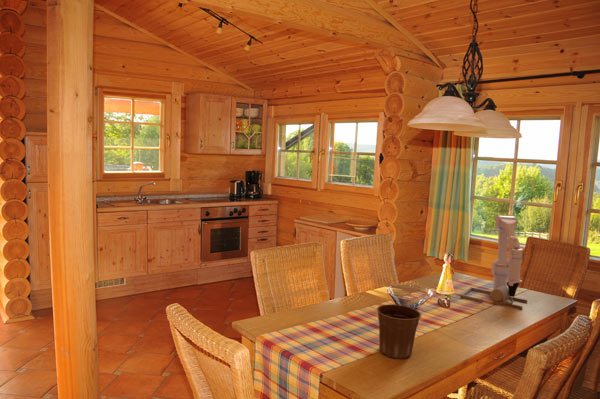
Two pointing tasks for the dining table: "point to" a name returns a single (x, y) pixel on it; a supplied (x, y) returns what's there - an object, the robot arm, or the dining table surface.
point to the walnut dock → (511, 304)
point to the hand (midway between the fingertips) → (511, 296)
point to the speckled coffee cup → (501, 294)
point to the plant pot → (397, 330)
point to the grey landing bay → (474, 297)
